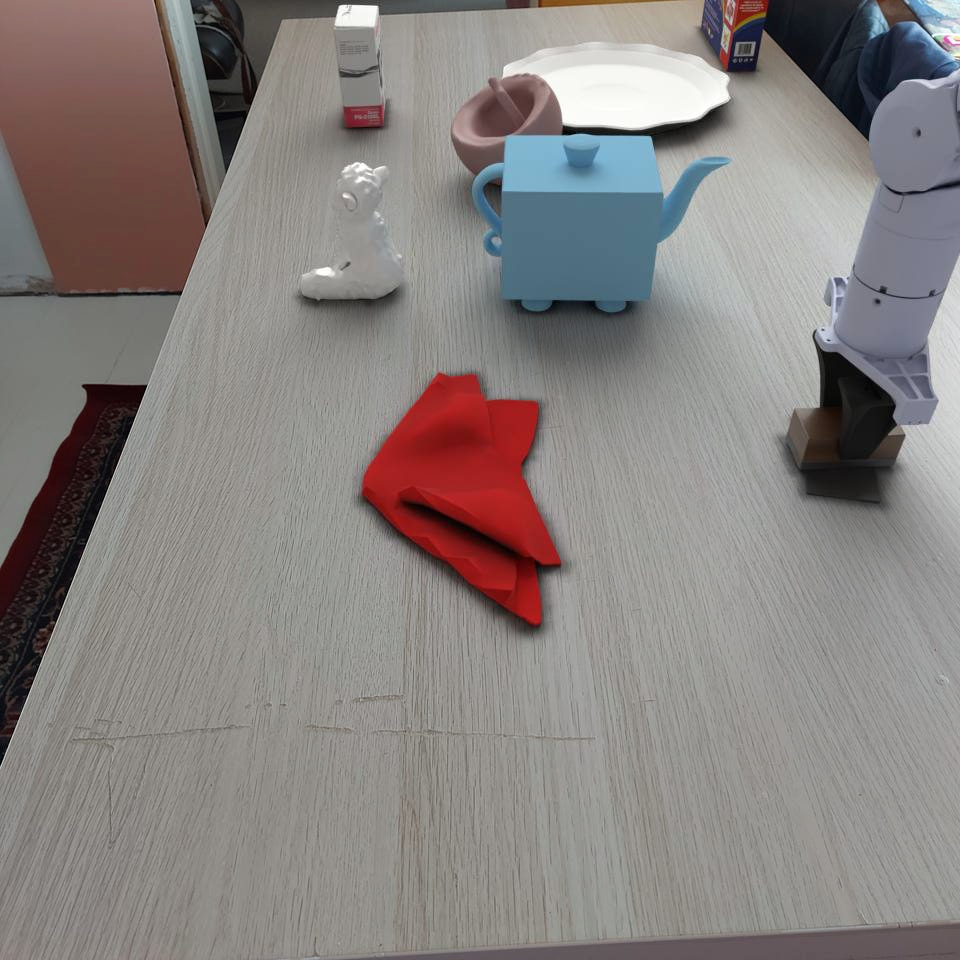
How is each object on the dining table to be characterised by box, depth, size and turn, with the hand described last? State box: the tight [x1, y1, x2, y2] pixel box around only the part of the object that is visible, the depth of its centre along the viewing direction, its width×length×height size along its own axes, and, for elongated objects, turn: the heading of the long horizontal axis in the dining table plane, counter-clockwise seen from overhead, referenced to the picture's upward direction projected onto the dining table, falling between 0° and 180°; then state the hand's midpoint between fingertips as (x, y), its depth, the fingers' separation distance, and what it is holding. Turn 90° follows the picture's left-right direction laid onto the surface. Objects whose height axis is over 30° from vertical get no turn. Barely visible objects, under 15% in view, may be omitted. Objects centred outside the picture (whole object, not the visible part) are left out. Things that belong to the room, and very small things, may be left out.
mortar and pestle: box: [450, 73, 563, 186], centre depth 98 cm, size 12×12×12 cm
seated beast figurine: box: [299, 161, 405, 301], centre depth 82 cm, size 10×9×12 cm
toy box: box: [700, 0, 770, 72], centre depth 127 cm, size 18×4×12 cm, turn 1°
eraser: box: [785, 406, 907, 471], centre depth 67 cm, size 7×4×3 cm, turn 93°
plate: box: [500, 41, 731, 136], centre depth 117 cm, size 29×29×2 cm
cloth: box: [361, 371, 563, 627], centre depth 65 cm, size 26×14×2 cm, turn 1°
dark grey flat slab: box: [804, 467, 881, 504], centre depth 67 cm, size 5×8×1 cm, turn 168°
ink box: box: [333, 4, 387, 129], centre depth 112 cm, size 8×5×12 cm, turn 2°
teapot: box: [471, 133, 733, 313], centre depth 81 cm, size 22×11×14 cm, turn 87°
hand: (843, 438), depth 67 cm, fingers closed on eraser, 3 cm apart
